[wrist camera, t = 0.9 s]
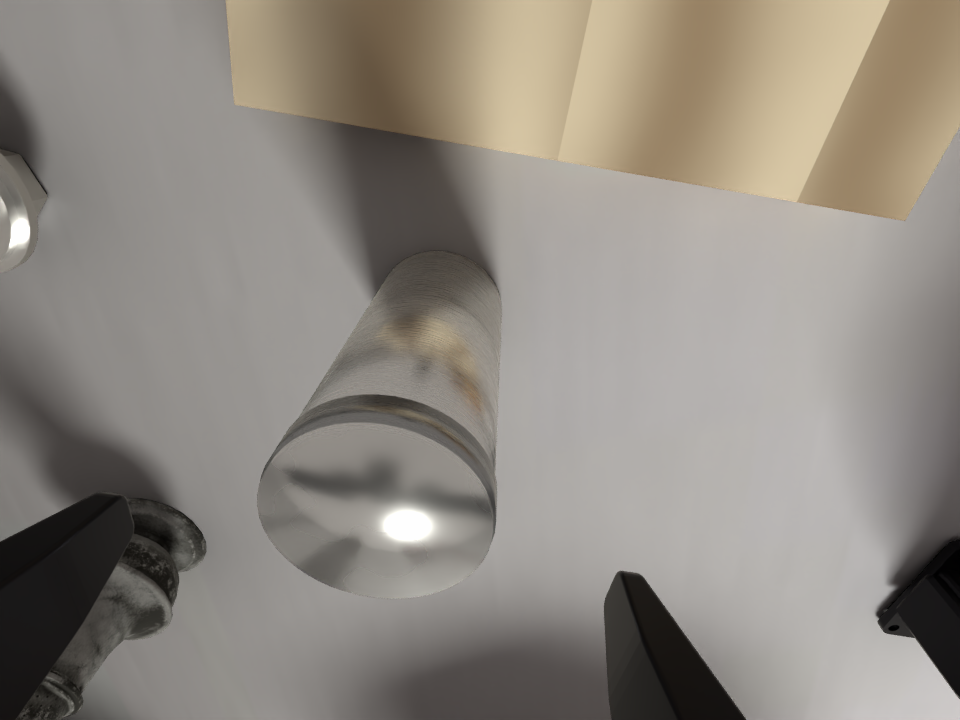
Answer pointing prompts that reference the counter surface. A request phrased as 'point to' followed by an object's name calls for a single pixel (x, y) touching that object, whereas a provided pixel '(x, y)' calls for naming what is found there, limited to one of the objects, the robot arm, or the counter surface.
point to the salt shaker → (123, 605)
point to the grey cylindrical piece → (397, 441)
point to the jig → (633, 84)
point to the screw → (18, 210)
